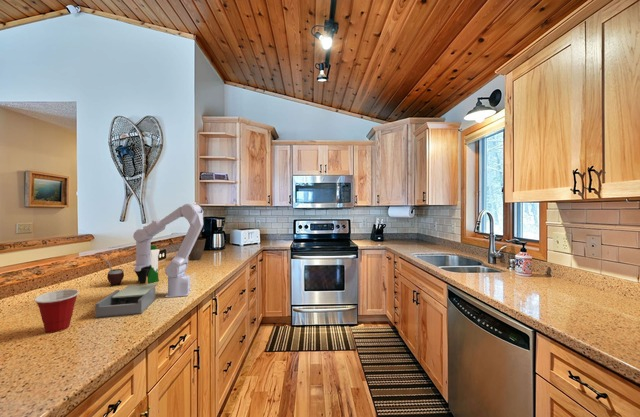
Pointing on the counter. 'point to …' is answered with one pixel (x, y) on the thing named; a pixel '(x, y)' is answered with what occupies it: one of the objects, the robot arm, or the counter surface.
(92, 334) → the counter surface
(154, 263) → the milk carton
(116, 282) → the mate gourd
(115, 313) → the parts tub
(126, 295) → the lid
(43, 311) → the plastic cup
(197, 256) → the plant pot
